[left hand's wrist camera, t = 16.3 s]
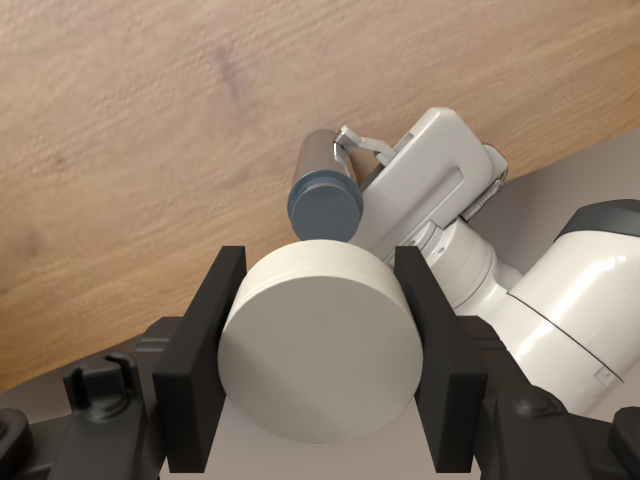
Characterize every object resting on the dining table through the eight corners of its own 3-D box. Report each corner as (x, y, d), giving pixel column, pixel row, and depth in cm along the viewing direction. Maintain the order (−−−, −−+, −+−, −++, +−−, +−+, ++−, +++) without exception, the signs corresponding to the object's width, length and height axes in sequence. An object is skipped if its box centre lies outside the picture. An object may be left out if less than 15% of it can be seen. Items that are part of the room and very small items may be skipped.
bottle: (292, 142, 41) (269, 200, 22) (334, 121, 40) (346, 163, 22) (313, 183, 42) (307, 268, 24) (354, 163, 41) (380, 236, 23)
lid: (346, 410, 14) (350, 470, 12) (204, 342, 13) (182, 394, 11) (442, 293, 12) (467, 339, 10) (288, 204, 11) (281, 234, 9)
